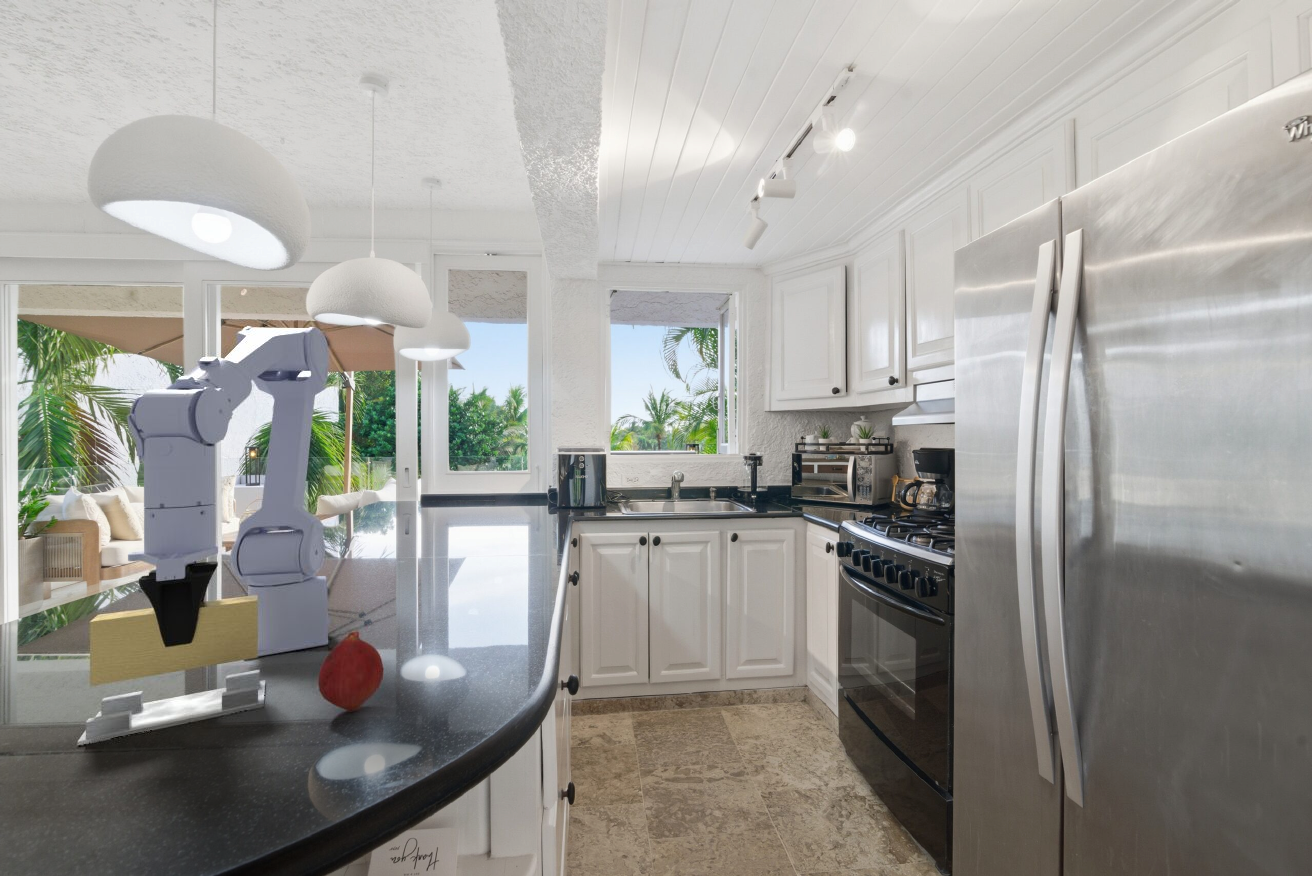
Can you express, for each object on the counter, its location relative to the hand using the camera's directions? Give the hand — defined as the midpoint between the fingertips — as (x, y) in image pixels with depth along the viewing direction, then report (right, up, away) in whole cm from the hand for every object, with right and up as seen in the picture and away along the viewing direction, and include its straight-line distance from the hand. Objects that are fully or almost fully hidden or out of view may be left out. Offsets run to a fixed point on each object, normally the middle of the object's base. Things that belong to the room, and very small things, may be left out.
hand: (181, 639), depth 60 cm
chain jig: (0, -7, 0) cm, 7 cm away
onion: (+18, -7, -1) cm, 19 cm away
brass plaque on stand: (0, -3, 0) cm, 3 cm away
